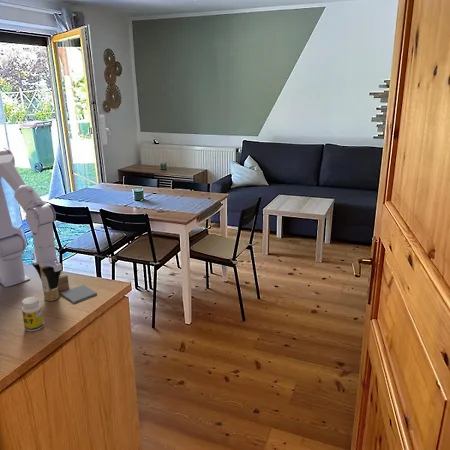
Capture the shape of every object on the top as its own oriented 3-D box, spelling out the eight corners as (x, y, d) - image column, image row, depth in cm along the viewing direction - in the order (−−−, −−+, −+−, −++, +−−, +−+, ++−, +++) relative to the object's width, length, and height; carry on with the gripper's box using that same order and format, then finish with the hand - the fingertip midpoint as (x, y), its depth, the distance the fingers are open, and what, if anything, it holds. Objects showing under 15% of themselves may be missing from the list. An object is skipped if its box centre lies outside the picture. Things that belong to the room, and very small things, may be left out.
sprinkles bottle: (61, 299, 131) (56, 259, 127) (45, 303, 129) (39, 262, 124) (57, 293, 135) (52, 254, 130) (42, 296, 132) (36, 257, 128)
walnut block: (49, 287, 138) (47, 274, 137) (62, 283, 142) (60, 270, 140) (55, 292, 136) (54, 279, 134) (68, 287, 139) (67, 274, 137)
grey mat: (60, 294, 134) (60, 293, 134) (83, 286, 140) (83, 284, 139) (73, 303, 129) (73, 301, 129) (96, 294, 134) (96, 292, 134)
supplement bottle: (20, 329, 115) (16, 302, 112) (33, 321, 119) (29, 294, 117) (34, 333, 114) (30, 305, 111) (47, 324, 118) (43, 297, 115)
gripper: (20, 241, 128) (26, 282, 132) (42, 255, 119) (48, 297, 123) (43, 235, 133) (48, 275, 137) (66, 248, 123) (71, 289, 128)
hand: (50, 285), depth 130 cm, fingers closed on sprinkles bottle, 4 cm apart
